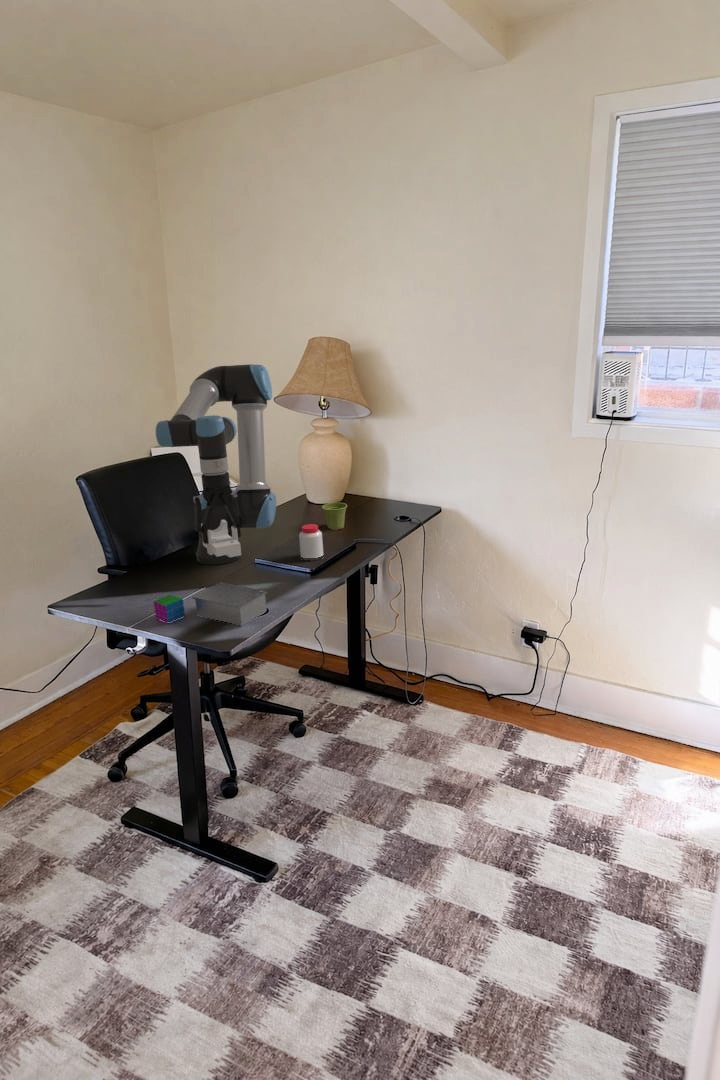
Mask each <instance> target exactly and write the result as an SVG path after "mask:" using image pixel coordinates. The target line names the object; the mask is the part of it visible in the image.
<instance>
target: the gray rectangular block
mask: <svg viewBox="0 0 720 1080" xmlns="http://www.w3.org/2000/svg"><path fill="white" fill-rule="evenodd" d="M266 594H268V591H266V590H263V589H257V588H252V587H246V586H241V585H237V584H232V583H226V582H222V581H221V582H218V583H216V584H215V585H213V586H210V587H209V588H207V589H204V590H203V591H201V592H199V593H198V594H195V595H193V596H192V600H195V607H196V616H197V615H199V616H202V617H201V618H203V617H206V618H205V619H207V618H210V619H209V620H212V619H215V620H214V621H216V620H219V621H218V622H220V621H224V622H228V623H227V624H229V623H232V624H231V625H233V624H236V625H235V626H237V625H240V626H239V627H243V626H242V625H244V624H245V625H247V624H248V623H250V622H252V621H253V620H254V619H253V618H255V617H256V618H258V617H259V615H260V614H261V615H263V614H264V613H266V612H267V604H266V603H267V601H266ZM262 613H263V614H262ZM261 615H260V616H261ZM199 616H198V617H199ZM257 616H258V617H257ZM256 618H255V619H256ZM252 619H253V620H252ZM251 620H252V621H251ZM249 621H250V622H249ZM224 622H223V623H224ZM246 623H247V624H246ZM245 625H244V626H245Z"/></svg>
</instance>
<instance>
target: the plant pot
mask: <svg viewBox="0 0 720 1080" xmlns="http://www.w3.org/2000/svg"><path fill="white" fill-rule="evenodd" d="M321 508H322V509H323V512H324V516H325V520H326V524H327V525H326V526H327V528H328V529H329V530H331V531H338V530H341V529H344V527H345V520H346V519H345V518H346V517H345V516H346V510H347V508H348V504H346V503H344V502H329V503H326V504H323V505H322V506H321Z"/></svg>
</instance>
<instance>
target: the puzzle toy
mask: <svg viewBox="0 0 720 1080" xmlns="http://www.w3.org/2000/svg"><path fill="white" fill-rule="evenodd" d="M153 608H154V613H155V619H156V618H158V619H161V620H163V621H165V622H171V621H173V620H176V619H178V618H181V617H183V616H185V617H186V614H185V606H184V599H183V598H180V597H178V596H175V595H173V594H168V595H166V596H162V597H161V598H158V599H155V600H154V601H153Z"/></svg>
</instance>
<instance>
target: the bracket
mask: <svg viewBox="0 0 720 1080" xmlns="http://www.w3.org/2000/svg"><path fill="white" fill-rule="evenodd" d="M201 527H202V523H201ZM208 531H209V532H210V533H211V542H212V551H213V554H214V555H215V556H217V557H218V556H223V555H227V556H228V557H229V558H230V557H235V556H240V555H241V556H242V548H241V547H242V546H241V543H240V542H239V540H238V541H236V540H235V539H234V538H232V537H231V536H229V535H228V528H227V521H225V520H221V524H220V526H219V527H218V528H217V529H215V530H208ZM202 541H203V539H202ZM203 546H204V547H206V548H207V544H205V543H204V542H203Z"/></svg>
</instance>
